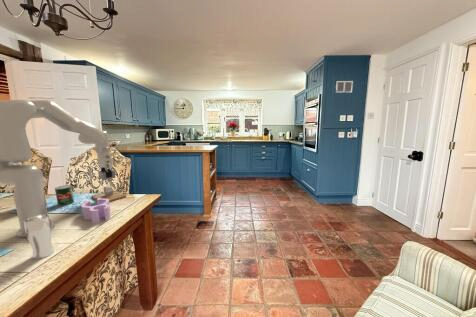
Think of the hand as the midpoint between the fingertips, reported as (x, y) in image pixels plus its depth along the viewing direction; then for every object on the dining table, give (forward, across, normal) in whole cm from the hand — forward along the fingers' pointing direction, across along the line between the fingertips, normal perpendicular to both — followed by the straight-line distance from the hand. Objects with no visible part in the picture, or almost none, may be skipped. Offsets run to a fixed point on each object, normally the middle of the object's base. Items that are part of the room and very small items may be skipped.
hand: (106, 176), depth 134 cm
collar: (+1, 0, 0) cm, 1 cm away
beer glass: (+14, -44, +43) cm, 63 cm away
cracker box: (+15, +23, +32) cm, 42 cm away
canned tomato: (+15, +12, +21) cm, 28 cm away
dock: (+15, 0, +1) cm, 15 cm away
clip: (+15, -25, +17) cm, 33 cm away
